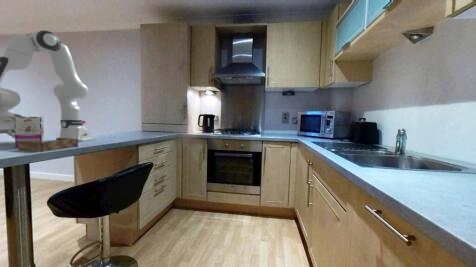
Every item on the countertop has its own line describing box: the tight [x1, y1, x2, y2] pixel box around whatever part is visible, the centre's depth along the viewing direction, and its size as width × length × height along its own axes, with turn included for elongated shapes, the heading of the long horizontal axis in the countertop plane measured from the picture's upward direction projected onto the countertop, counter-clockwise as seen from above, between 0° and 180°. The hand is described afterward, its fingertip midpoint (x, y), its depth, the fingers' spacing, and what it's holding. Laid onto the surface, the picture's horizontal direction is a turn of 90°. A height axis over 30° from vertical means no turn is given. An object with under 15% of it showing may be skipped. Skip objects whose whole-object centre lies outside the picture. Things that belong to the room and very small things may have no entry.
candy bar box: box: [14, 116, 45, 148], centre depth 128 cm, size 11×5×16 cm, turn 117°
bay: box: [18, 137, 79, 152], centre depth 126 cm, size 21×13×4 cm, turn 170°
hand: (17, 137), depth 130 cm, fingers closed
